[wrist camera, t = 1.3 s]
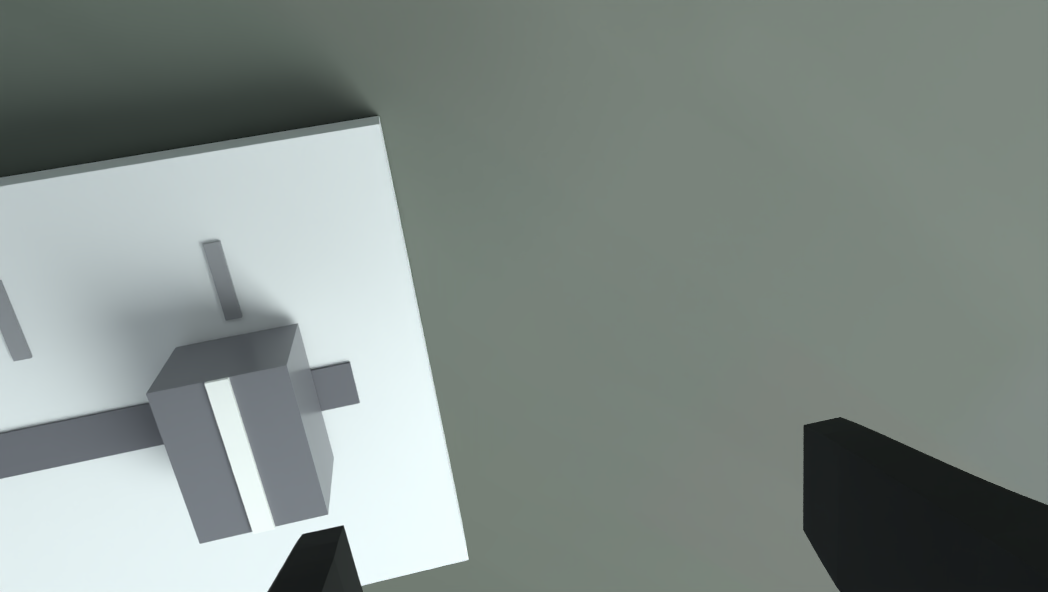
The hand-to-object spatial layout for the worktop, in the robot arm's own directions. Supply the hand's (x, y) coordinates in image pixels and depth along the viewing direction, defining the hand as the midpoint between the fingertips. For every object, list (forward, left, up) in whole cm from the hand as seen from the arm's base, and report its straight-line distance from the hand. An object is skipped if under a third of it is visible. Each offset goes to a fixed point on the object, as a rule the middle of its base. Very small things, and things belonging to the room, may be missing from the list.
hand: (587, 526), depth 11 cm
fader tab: (-1, +7, -9) cm, 11 cm away
